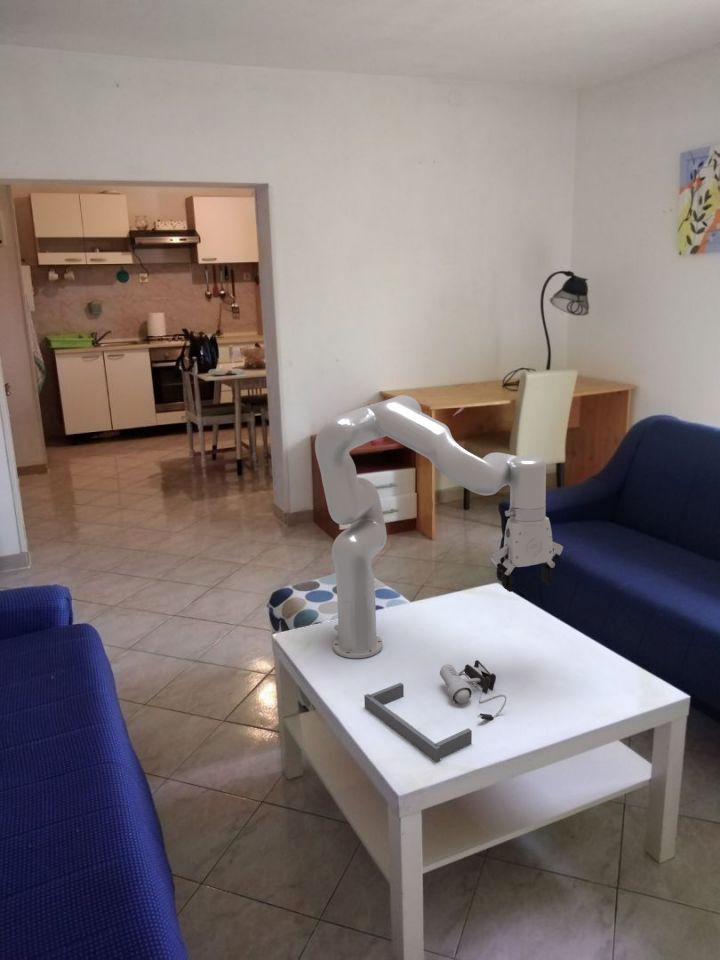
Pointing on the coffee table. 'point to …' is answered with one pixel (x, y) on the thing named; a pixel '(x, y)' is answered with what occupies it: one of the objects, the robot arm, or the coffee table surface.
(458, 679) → the clip-on lamp
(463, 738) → the grey u-shaped handle
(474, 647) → the coffee table surface
